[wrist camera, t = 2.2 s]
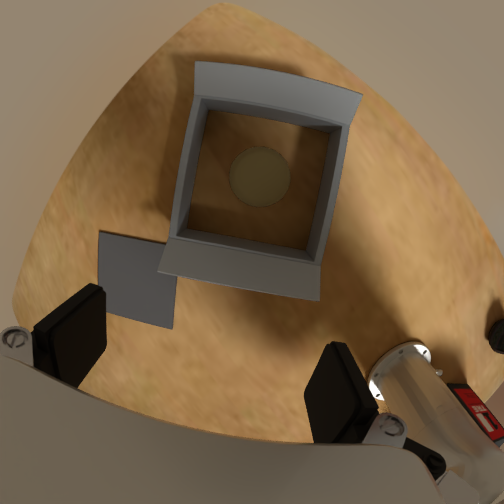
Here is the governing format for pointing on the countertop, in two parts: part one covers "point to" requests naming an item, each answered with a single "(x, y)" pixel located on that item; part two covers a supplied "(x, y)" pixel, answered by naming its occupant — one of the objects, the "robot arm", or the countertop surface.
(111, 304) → the rubber mat
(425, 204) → the countertop surface
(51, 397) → the robot arm
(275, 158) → the cork
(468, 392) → the cleaning product box
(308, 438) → the countertop surface
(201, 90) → the carton
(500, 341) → the mate gourd
